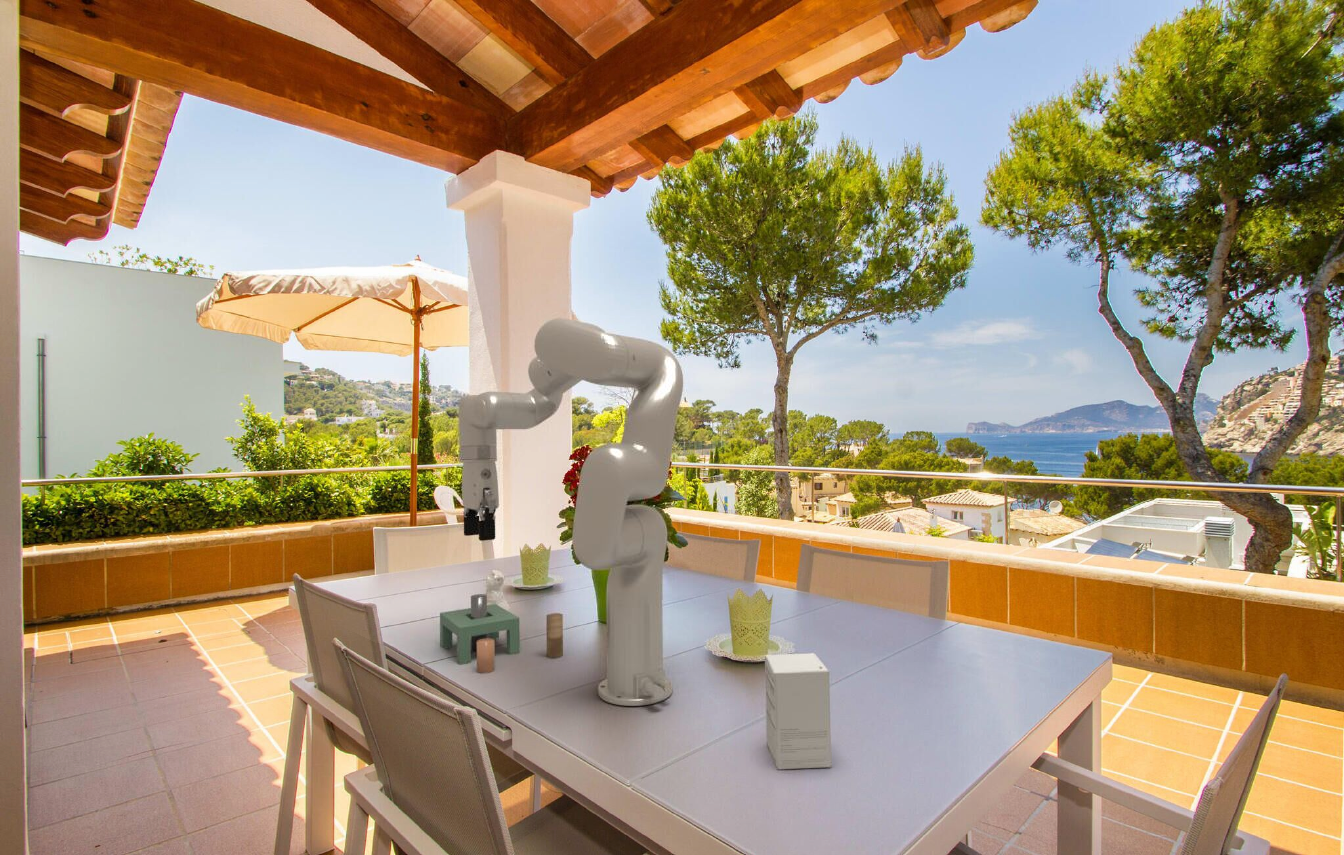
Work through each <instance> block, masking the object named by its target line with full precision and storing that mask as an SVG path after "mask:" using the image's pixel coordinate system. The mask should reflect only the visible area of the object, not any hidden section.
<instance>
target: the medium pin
mask: <svg viewBox="0 0 1344 855" xmlns="http://www.w3.org/2000/svg"><path fill="white" fill-rule="evenodd" d="M563 616H564V615H563V613H559V612H555V613H554V612H553V613H548V614H547V615H546V617H545V618H546V622H545V624H546V657H547V658H548V659H558V658H559V659H560V658H562V657H563V656H564V631H563V630H564V629H563V628H564V627H563V626H564V625H563V624H564V620H563V618H564V617H563Z"/></svg>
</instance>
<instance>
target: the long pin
mask: <svg viewBox="0 0 1344 855" xmlns="http://www.w3.org/2000/svg"><path fill="white" fill-rule="evenodd" d="M470 608H471V620H472V619H478V618H484V617H487V595H486V594H485V593H478V594H473V595H470ZM484 638H487V634H482V635H476V636H471V637H470V652H473V653H477V641H478V640H480V639H484Z"/></svg>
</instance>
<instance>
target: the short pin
mask: <svg viewBox="0 0 1344 855" xmlns="http://www.w3.org/2000/svg"><path fill="white" fill-rule="evenodd" d="M495 654H496V651H495V639H492V638H484V639H480V640H478V641H477V652H476V672H477V673H479V674H490V673H492V672H494V671H495V670H496V669H495V667H496V666H495V662H496V660H495V658H496V657H495Z"/></svg>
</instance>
